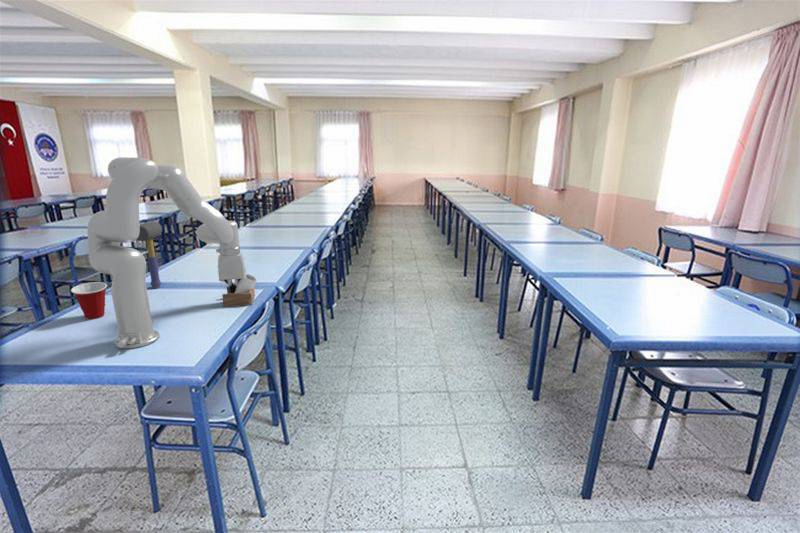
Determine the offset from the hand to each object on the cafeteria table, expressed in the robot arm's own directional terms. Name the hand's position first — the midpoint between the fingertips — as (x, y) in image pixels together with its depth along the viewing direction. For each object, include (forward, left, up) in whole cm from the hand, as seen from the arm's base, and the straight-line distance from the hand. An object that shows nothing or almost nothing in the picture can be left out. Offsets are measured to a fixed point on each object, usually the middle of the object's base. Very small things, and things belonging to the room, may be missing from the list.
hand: (234, 293), depth 173 cm
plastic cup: (-9, +49, -3) cm, 49 cm away
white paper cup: (0, -2, -2) cm, 3 cm away
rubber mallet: (+24, +38, -3) cm, 45 cm away
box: (-1, -2, -3) cm, 4 cm away
